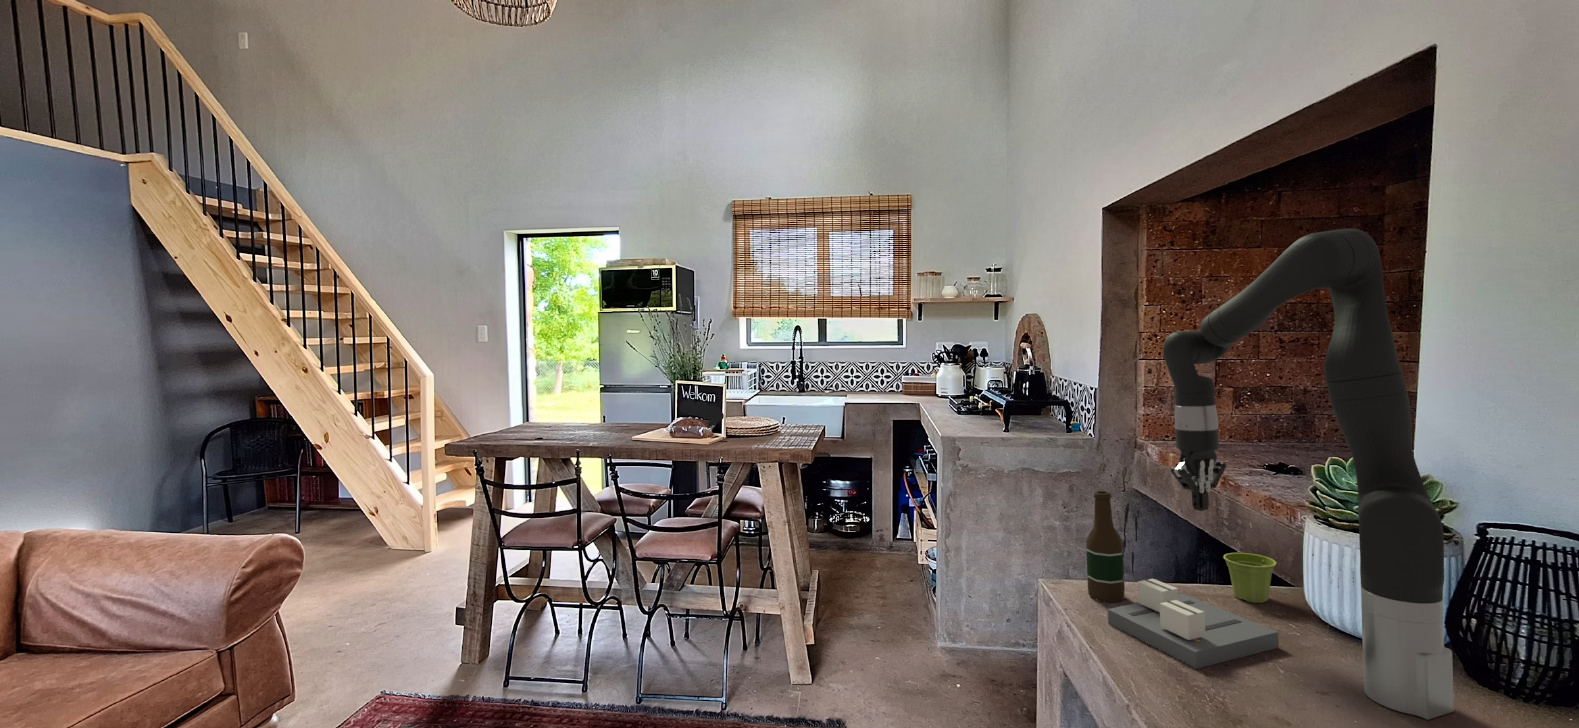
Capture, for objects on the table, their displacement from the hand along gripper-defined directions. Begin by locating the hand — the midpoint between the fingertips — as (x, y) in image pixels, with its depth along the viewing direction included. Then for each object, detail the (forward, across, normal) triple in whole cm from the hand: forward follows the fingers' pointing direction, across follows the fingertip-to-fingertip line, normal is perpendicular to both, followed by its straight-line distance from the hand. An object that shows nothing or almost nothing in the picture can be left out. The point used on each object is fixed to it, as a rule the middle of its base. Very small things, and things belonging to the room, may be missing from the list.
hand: (1201, 509), depth 131 cm
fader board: (+22, -10, -4) cm, 25 cm away
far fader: (+19, -11, +2) cm, 22 cm away
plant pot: (+23, +17, +3) cm, 29 cm away
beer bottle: (+22, -10, +17) cm, 30 cm away
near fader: (+19, -16, -8) cm, 26 cm away
